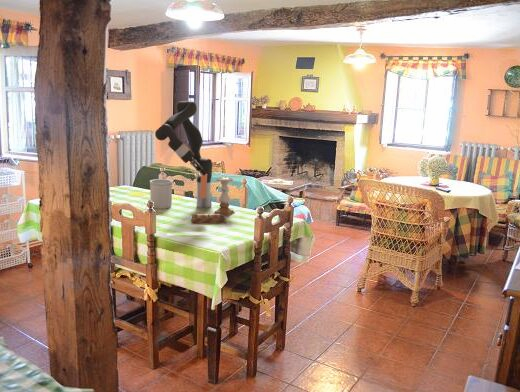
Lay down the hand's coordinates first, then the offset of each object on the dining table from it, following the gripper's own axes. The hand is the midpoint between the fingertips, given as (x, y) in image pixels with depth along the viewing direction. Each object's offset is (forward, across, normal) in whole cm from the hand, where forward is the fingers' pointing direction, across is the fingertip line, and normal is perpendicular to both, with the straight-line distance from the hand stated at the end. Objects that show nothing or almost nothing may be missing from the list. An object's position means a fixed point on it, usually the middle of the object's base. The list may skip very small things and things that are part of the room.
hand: (205, 174), depth 275 cm
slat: (+9, 0, +11) cm, 14 cm away
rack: (+22, -5, +19) cm, 30 cm away
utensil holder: (+3, +42, +39) cm, 57 cm away
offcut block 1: (+18, -6, +21) cm, 28 cm away
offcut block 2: (+23, -6, +16) cm, 29 cm away
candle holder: (+30, +14, +11) cm, 35 cm away
